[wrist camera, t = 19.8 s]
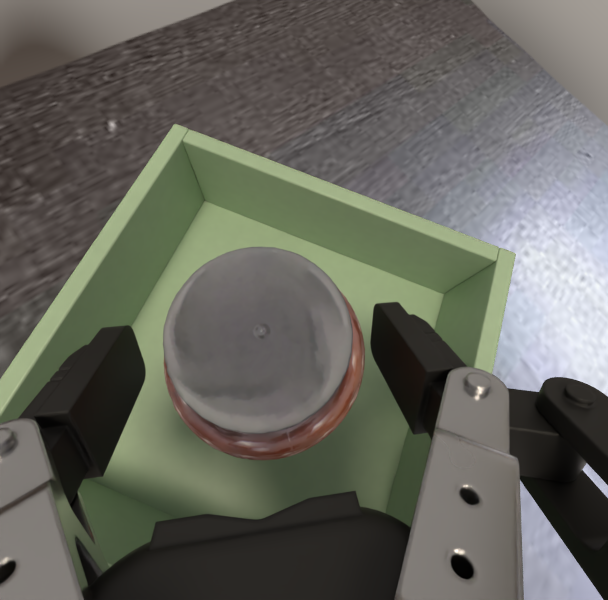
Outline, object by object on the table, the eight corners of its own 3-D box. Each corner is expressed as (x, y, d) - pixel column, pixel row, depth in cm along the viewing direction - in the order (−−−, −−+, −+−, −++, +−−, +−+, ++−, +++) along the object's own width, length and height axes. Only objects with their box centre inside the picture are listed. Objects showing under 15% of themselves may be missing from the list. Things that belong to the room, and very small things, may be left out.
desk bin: (36, 470, 16) (-90, 508, 10) (201, 192, 21) (174, 122, 16) (369, 617, 15) (420, 740, 10) (453, 291, 20) (516, 253, 15)
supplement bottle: (299, 302, 19) (327, 170, 8) (346, 397, 17) (461, 399, 6) (201, 345, 17) (74, 262, 7) (244, 451, 16) (170, 566, 5)
